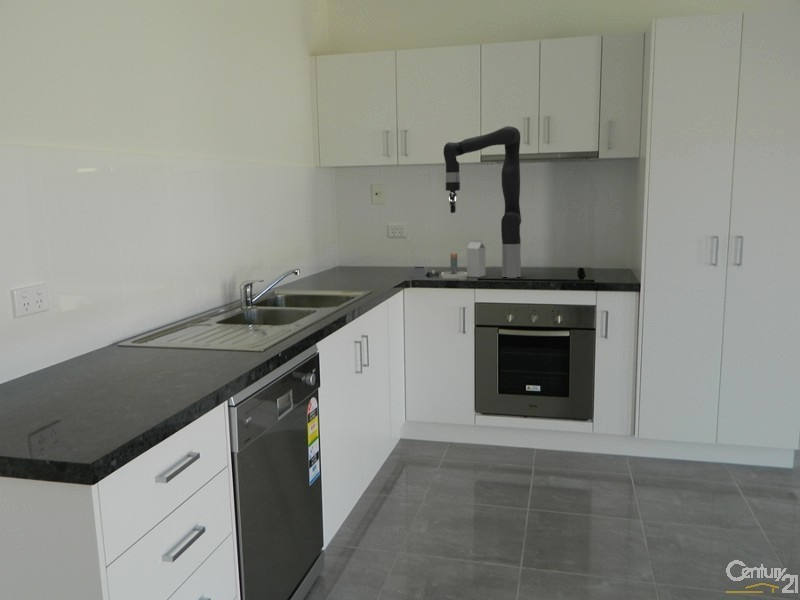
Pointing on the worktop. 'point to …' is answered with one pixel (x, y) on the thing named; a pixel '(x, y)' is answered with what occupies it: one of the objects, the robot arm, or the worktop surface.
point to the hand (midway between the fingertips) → (453, 212)
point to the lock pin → (453, 263)
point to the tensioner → (424, 273)
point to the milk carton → (475, 259)
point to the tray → (455, 275)
